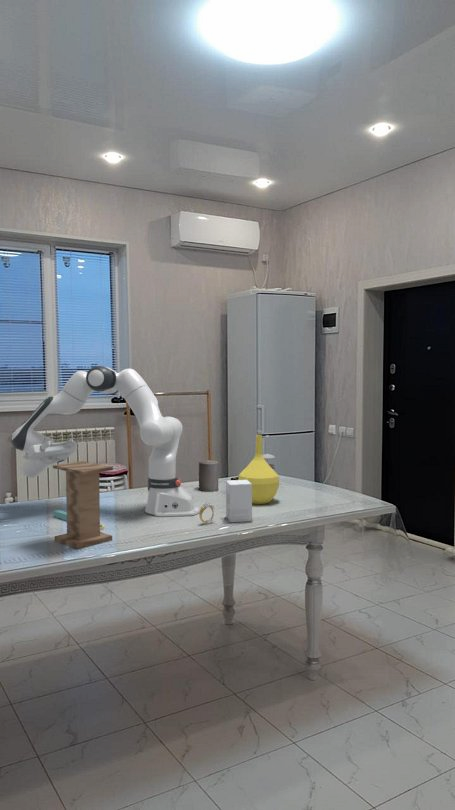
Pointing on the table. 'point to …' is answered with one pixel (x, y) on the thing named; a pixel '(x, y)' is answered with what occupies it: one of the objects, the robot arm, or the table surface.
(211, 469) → the pillar candle
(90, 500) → the stand
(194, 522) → the table surface
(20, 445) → the robot arm
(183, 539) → the table surface
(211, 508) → the ring
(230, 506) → the supplement box
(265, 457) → the french press
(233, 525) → the table surface
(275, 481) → the vase
